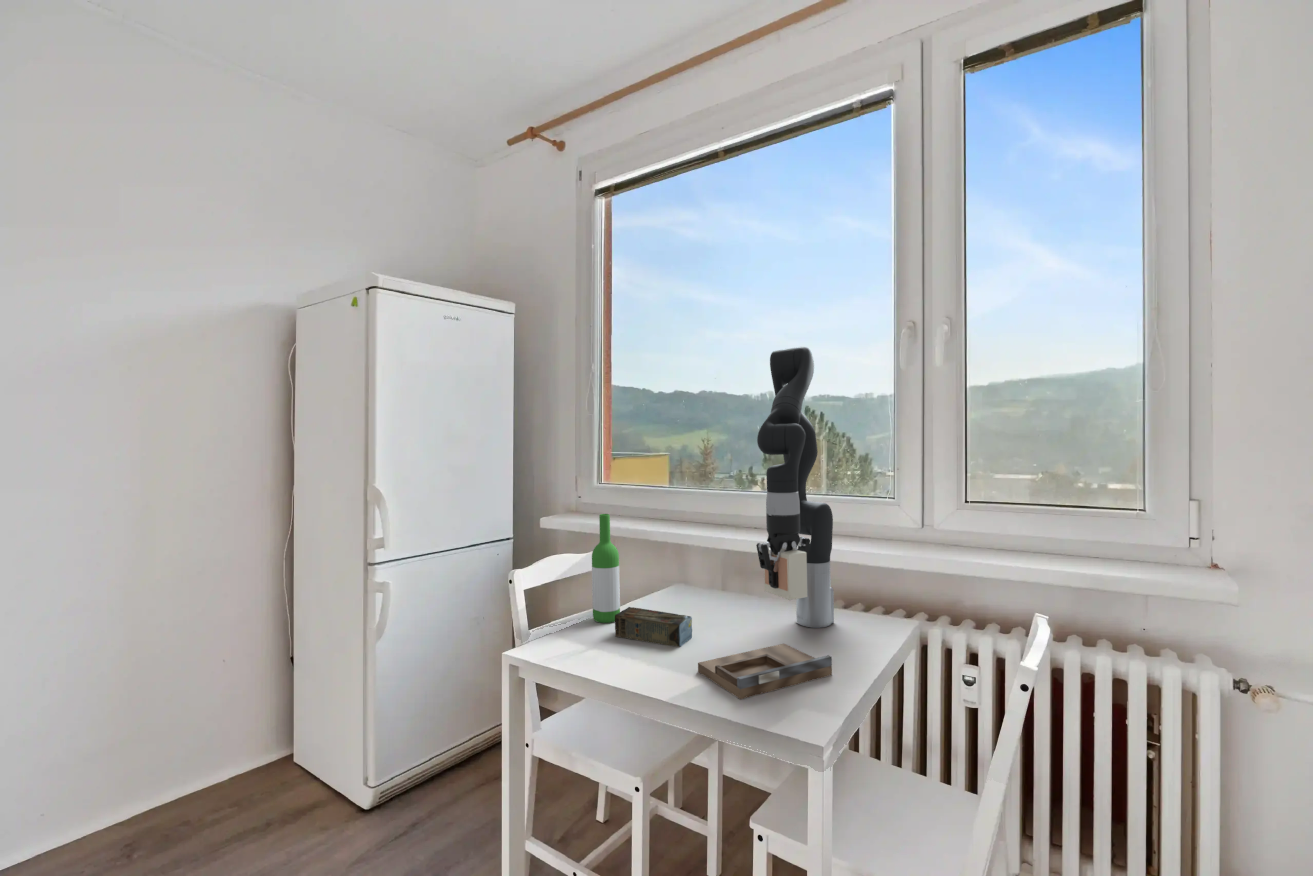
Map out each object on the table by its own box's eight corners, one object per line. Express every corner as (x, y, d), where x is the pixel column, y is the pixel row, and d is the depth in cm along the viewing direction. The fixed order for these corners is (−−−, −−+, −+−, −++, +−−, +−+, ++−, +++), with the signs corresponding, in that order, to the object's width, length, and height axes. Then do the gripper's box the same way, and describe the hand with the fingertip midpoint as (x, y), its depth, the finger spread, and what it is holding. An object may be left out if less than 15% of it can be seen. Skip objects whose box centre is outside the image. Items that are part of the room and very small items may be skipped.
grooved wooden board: (783, 651, 145) (783, 635, 145) (832, 675, 130) (832, 657, 130) (698, 671, 134) (697, 653, 134) (741, 700, 119) (740, 679, 119)
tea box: (781, 588, 143) (780, 545, 143) (807, 597, 135) (806, 552, 135) (763, 591, 141) (762, 548, 141) (788, 600, 133) (787, 555, 133)
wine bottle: (606, 614, 178) (604, 512, 178) (625, 618, 173) (623, 513, 173) (587, 620, 172) (585, 515, 172) (606, 625, 167) (604, 517, 167)
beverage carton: (680, 649, 149) (679, 622, 149) (613, 638, 158) (612, 613, 157) (693, 638, 156) (692, 613, 156) (628, 629, 165) (627, 604, 165)
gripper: (796, 507, 144) (798, 578, 145) (747, 512, 138) (749, 586, 138) (818, 510, 138) (820, 584, 138) (768, 516, 131) (769, 594, 131)
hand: (784, 585), depth 138 cm, fingers closed on tea box, 5 cm apart
